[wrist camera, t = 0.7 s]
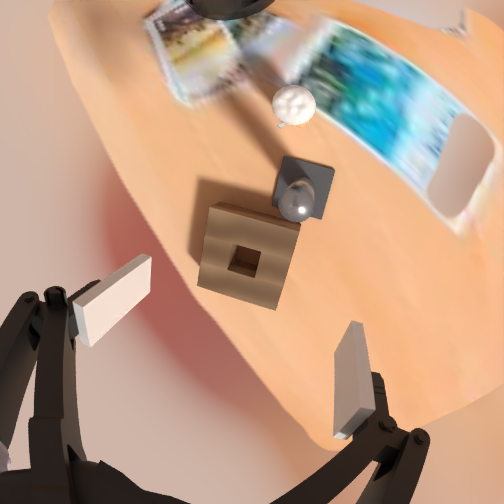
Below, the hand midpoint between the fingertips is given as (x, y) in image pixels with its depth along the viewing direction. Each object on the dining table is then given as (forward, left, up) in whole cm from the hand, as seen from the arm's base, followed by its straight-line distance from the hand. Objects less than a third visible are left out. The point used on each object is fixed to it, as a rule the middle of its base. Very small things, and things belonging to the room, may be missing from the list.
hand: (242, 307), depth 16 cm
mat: (-5, +1, -23) cm, 24 cm away
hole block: (+6, -4, -23) cm, 24 cm away
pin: (-5, +1, -23) cm, 24 cm away
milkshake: (-14, -2, -24) cm, 27 cm away
